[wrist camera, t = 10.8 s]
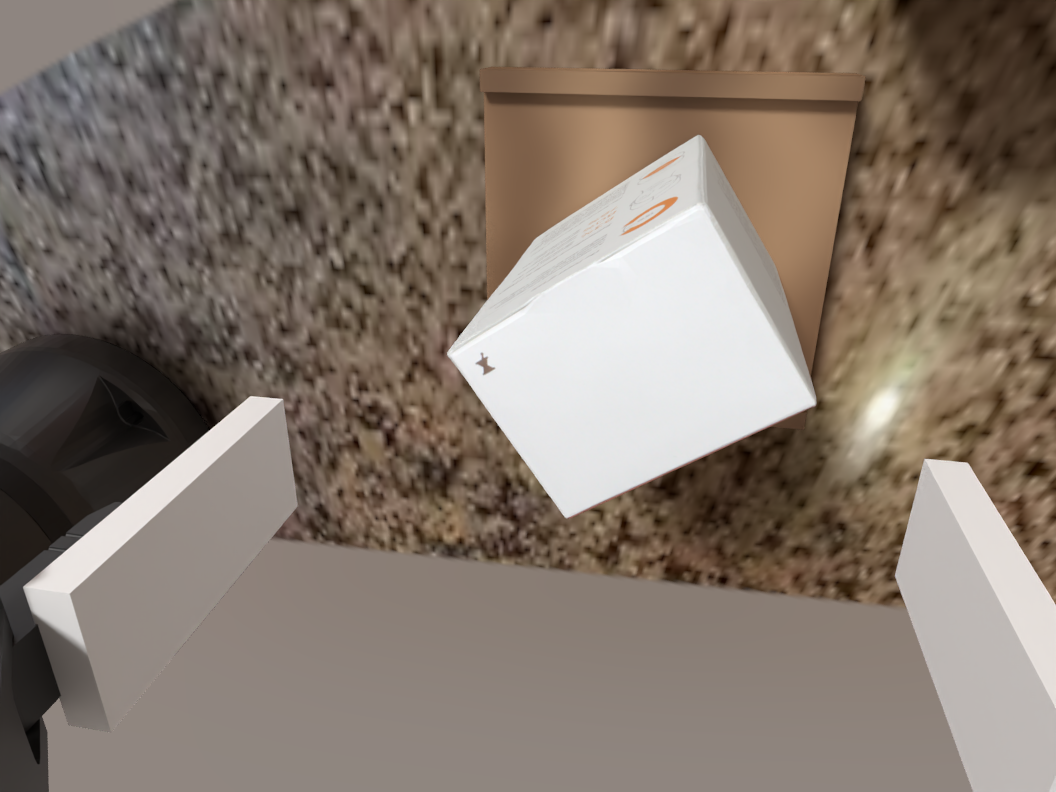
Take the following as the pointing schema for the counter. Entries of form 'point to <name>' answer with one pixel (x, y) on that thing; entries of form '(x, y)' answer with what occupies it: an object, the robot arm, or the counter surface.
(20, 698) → the robot arm
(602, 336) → the small box
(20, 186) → the counter surface
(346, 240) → the counter surface
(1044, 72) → the counter surface
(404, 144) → the counter surface
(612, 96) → the walnut board
